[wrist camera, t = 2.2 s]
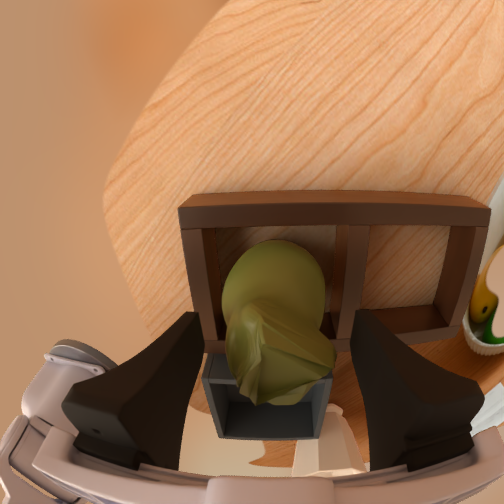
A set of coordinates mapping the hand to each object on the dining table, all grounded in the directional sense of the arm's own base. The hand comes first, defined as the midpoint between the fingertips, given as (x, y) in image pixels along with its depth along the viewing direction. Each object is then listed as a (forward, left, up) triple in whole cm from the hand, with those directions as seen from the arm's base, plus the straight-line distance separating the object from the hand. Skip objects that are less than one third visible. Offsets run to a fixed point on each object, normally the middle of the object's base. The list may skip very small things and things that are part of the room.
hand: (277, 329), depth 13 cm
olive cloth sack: (0, 0, -7) cm, 7 cm away
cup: (+5, -19, -7) cm, 20 cm away
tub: (-1, -10, -6) cm, 12 cm away
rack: (+4, 0, -6) cm, 8 cm away
